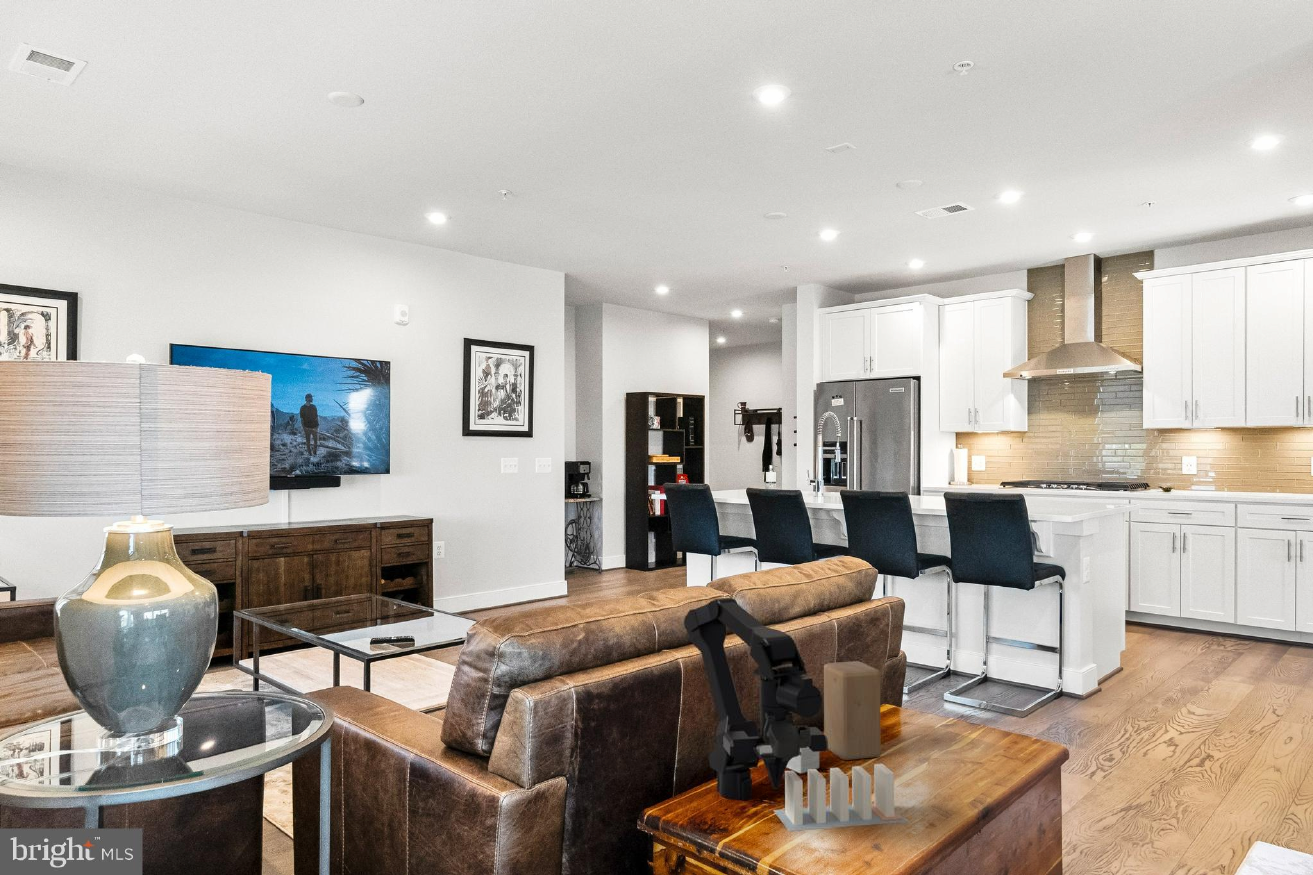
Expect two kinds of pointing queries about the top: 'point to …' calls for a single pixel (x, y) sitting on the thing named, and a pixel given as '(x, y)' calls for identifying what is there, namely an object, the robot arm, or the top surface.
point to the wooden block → (852, 710)
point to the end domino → (884, 790)
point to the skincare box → (804, 761)
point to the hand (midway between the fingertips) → (775, 787)
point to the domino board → (835, 822)
